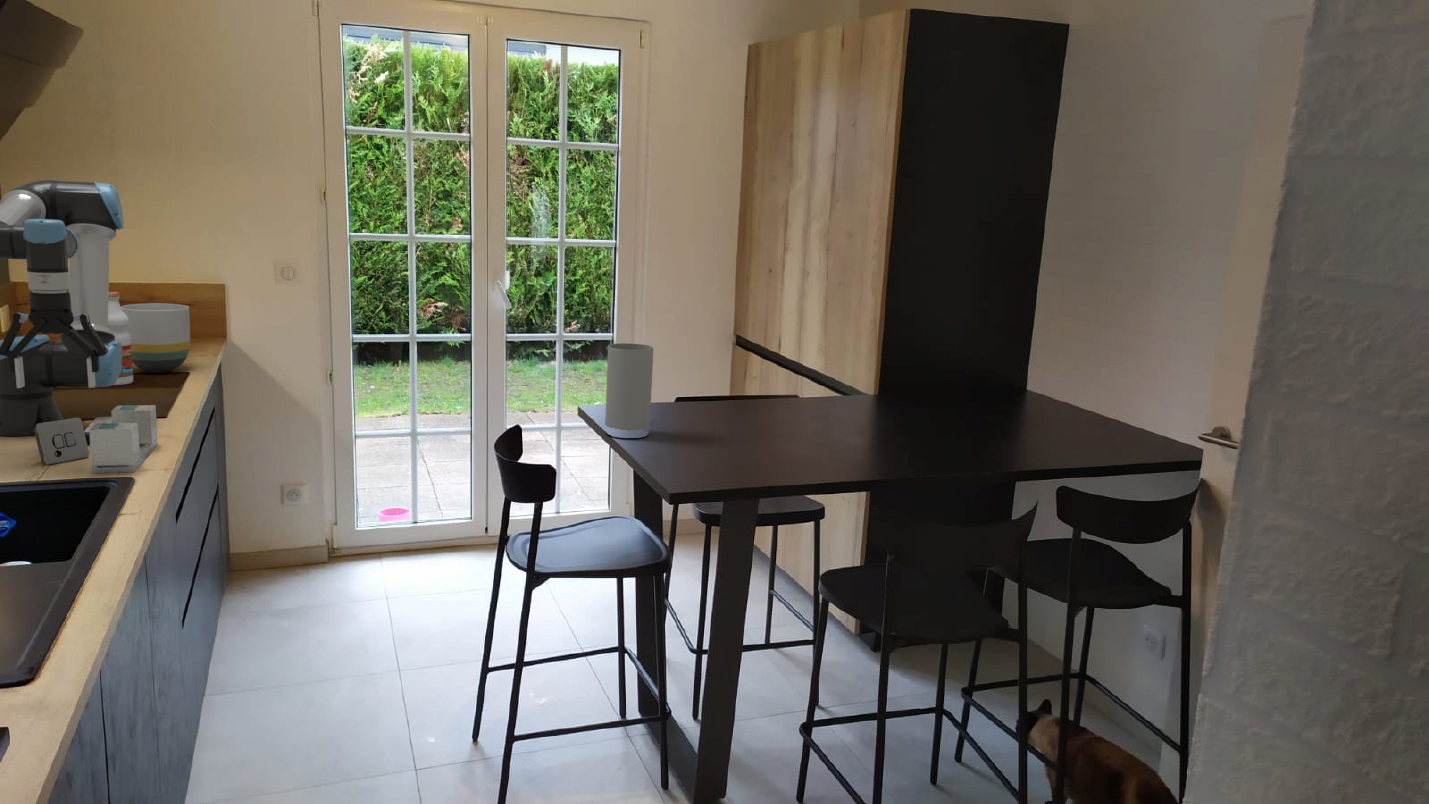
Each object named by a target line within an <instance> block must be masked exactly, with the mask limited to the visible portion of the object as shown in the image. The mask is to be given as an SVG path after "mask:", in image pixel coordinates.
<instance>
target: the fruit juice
mask: <svg viewBox="0 0 1429 804" xmlns="http://www.w3.org/2000/svg"><path fill="white" fill-rule="evenodd" d="M120 294H121V293H120V292H118V291H109V295H108V329H109V331H111V332H112V333H113V334H114V335H115V341H119V342H120V343H121V345H122V364H121V369H120V374H119V377H118V379H117V381H116V382H115V384H113V385H112V386H122V385H128V384H132V383H133V382H134V369H133V368H134V367H133V365H134V364H133V363H132V349H131V337H130V334H129V332H128V327H129V318H128V316H127V315H126V314H125V313H124V312H123V310H122V309H121V304H120V298H121V295H120Z"/></svg>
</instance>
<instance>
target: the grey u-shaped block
mask: <svg viewBox="0 0 1429 804" xmlns="http://www.w3.org/2000/svg"><path fill="white" fill-rule="evenodd" d="M156 410H157V409H156V404H151V405H149V404H148V405H147V404H145V405H144V404H142V405H140V404H138V405H137V404H136V405H134V404H133V405H131V404H129V405H116V406H115V407H114V408H113V409H112V410H110V412H111V417H112V423H98V424H95V425H94V426H93V427H92V428H91V429H90V430H89V434H90V445H89V446H90V447H89V448H90V459H91V473H92V474H113V473H114V474H116V473H117V474H120V473H135V472H136V471H137V470H138V468H139V467H140V466H141V465H142V463H143V462H144V461H146V459H147V457H149V455H150V454H152V453H151V452H152V451H154V449H155V448H156V447H157V446H158V444H159V443H158V427H157V426H158V425H157V411H156ZM156 445H157V446H156Z"/></svg>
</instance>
